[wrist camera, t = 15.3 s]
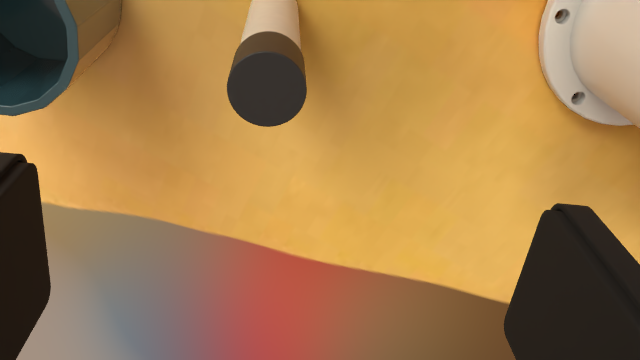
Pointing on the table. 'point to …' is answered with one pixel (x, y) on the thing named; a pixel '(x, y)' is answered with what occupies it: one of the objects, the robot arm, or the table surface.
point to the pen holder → (49, 47)
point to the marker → (269, 65)
